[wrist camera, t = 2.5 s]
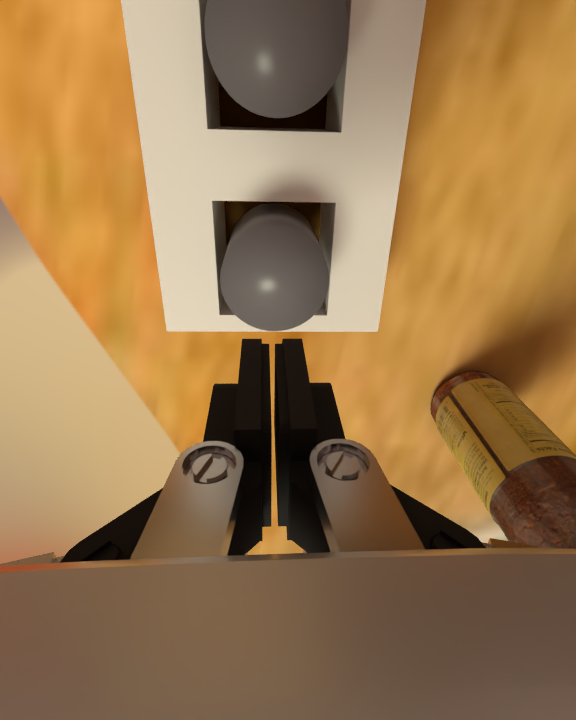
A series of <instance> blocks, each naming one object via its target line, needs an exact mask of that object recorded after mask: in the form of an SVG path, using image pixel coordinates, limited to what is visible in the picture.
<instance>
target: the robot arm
mask: <svg viewBox="0 0 576 720" xmlns="http://www.w3.org/2000/svg"><path fill="white" fill-rule="evenodd" d="M274 428H275V456H276V482H277V509H278V526H287V540H292V541H294V542H295V543H296V544H297V545H299V546H300V547H301V548H302V549H304V551H303V553H296V554H266V555H247V552H248V551H249V550H250V549H252V548H253V547H254V546H255V545H256V544H257V543H258V542H259V541H262V527H268V526H271V394H270V359H269V344H262V340H261V339H242V348H241V358H240V369H239V380H238V384H214V386H213V391H212V397H211V402H210V407H209V413H208V418H207V424H206V429H205V434H204V440H203V442H202V443H197V444H195V445H193V446H191V447H189V448H187V449H186V450H185V451H184V452H182V453H181V454H180V456H179V457H178V459H177V460H176V462H175V464H174V466H173V468H172V471H171V472H170V475H169V477H168V479H167V481H166V483H165V485H164V487H163V488H162V489H161V490H159V491H157V492H156V493H154V494H153V495H151V496H150V497H149V498H147V499H145V500H144V501H142V502H140V503H139V504H137V505H136V506H135V507H133V508H131V509H130V510H128V511H127V512H125V513H123V514H122V515H120V516H119V517H117V518H116V519H114V520H113V521H111V522H110V523H108V524H107V525H105V526H103V527H102V528H100V529H99V530H97V531H96V532H94V533H93V534H91V535H89V536H88V537H86V538H85V539H83V540H82V541H80V542H79V543H78V544H76V545H75V546H74V547H73V548H71V549H70V550H69V551H68V552H67V554H66V555H65V556H61V557H57V558H56V556H55V554H54V552H52V553H48V554H43V555H39V556H34V557H30V558H26V559H21V560H17V561H12V562H8V563H3V564H0V720H576V549H568V548H545V547H539V546H533V545H527V544H521V543H515V542H509V541H504V540H498V539H492V538H490V539H489V542H488V544H487V543H482V542H481V541H480V540H479V539H478V538H477V537H476V536H474V535H473V534H472V533H470V532H469V531H468V530H466V529H465V528H463V527H461V526H460V525H458V524H456V523H454V522H453V521H451V520H449V519H448V518H446V517H444V516H443V515H441V514H439V513H437V512H436V511H434V510H432V509H431V508H429V507H427V506H426V505H424V504H422V503H421V502H419V501H417V500H415V499H414V498H412V497H410V496H409V495H407V494H405V493H404V492H402V491H400V490H398V489H397V488H395V487H393V486H392V485H390V484H389V482H388V480H387V478H386V476H385V475H384V473H383V471H382V469H381V467H380V465H379V464H378V462H377V460H376V458H375V456H374V455H373V454H372V453H371V451H370V450H369V449H367V448H366V447H365V446H363V445H362V444H360V443H357V442H355V441H352V440H347V439H345V436H344V432H343V428H342V424H341V421H340V417H339V413H338V409H337V405H336V401H335V397H334V393H333V390H332V386H331V383H310V382H309V376H308V371H307V365H306V359H305V354H304V348H303V343H302V339H283V340H282V344H275V410H274Z"/></svg>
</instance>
